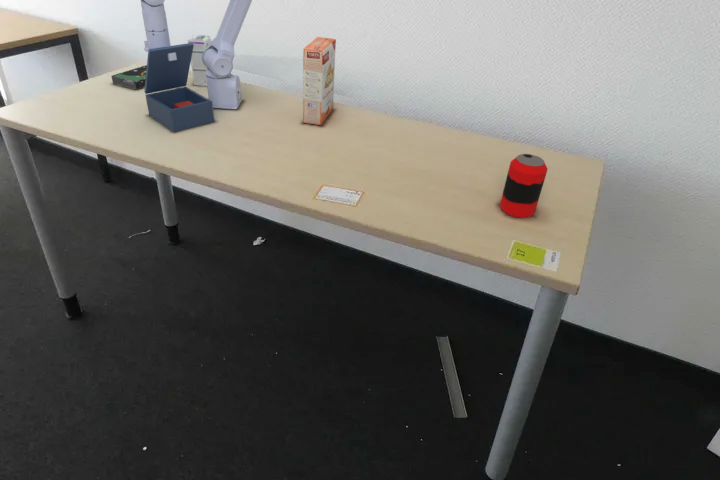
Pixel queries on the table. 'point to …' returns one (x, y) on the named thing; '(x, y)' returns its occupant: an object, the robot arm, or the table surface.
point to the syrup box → (199, 58)
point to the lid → (167, 68)
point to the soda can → (523, 185)
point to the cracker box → (318, 80)
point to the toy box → (180, 108)
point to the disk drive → (131, 78)
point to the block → (182, 104)
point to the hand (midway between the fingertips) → (165, 80)
